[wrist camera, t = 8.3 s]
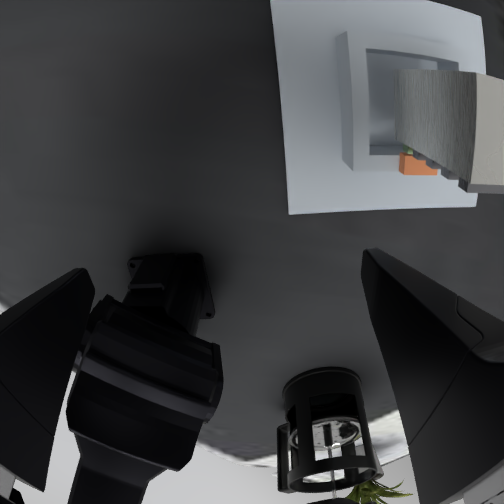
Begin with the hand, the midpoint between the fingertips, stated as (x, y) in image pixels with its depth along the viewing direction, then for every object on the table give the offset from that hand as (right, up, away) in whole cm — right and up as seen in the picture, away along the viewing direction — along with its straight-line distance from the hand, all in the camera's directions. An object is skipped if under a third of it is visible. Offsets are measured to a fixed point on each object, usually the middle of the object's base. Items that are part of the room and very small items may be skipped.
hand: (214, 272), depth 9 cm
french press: (+9, -16, +25) cm, 31 cm away
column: (+11, +9, +5) cm, 15 cm away
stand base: (+11, +11, +8) cm, 17 cm away
